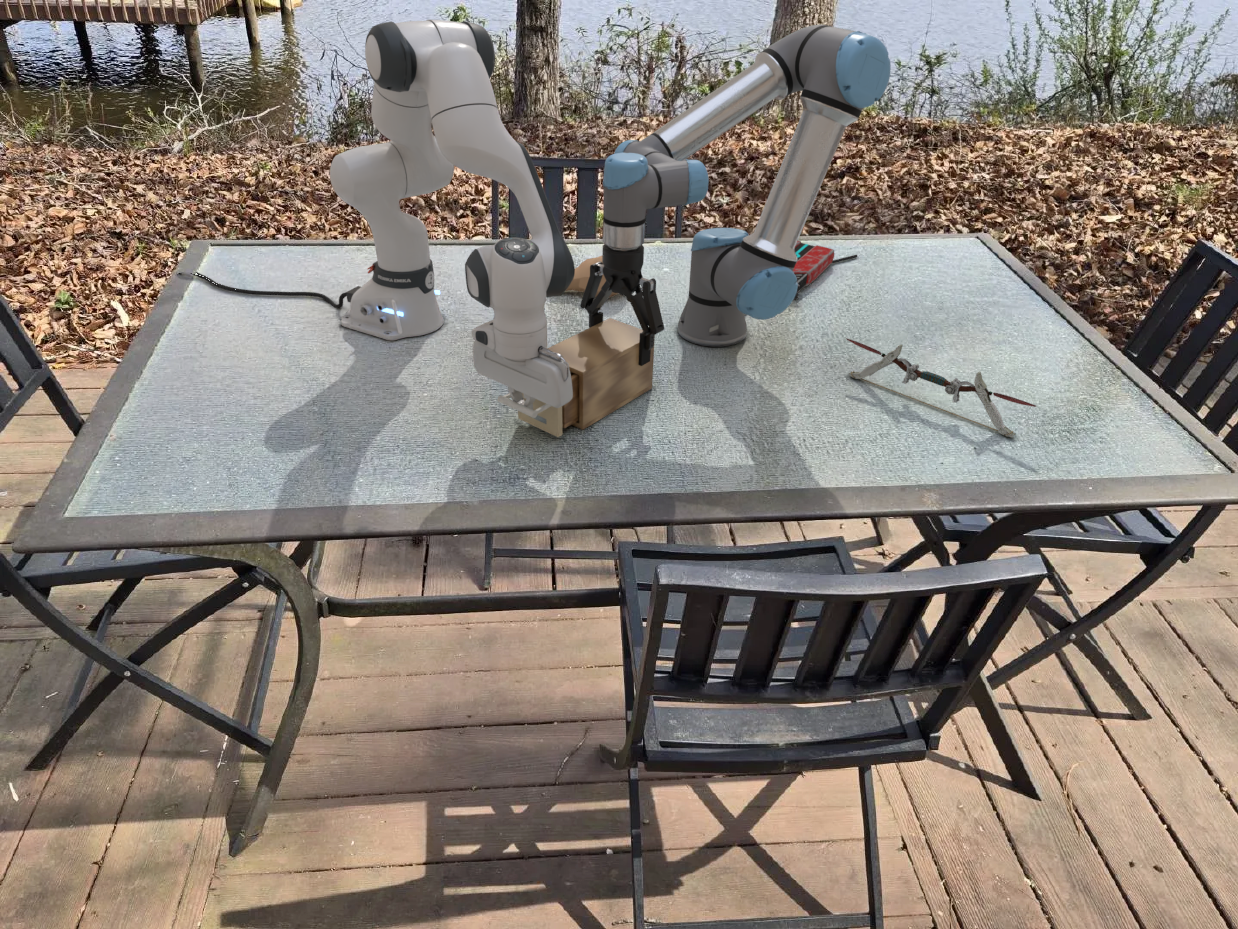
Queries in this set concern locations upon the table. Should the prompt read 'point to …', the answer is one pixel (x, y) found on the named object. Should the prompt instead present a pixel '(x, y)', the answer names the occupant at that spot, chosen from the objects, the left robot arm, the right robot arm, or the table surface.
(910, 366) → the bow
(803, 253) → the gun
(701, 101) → the right robot arm
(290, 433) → the table surface
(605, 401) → the cabinet
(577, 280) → the squash
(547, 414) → the drawer
